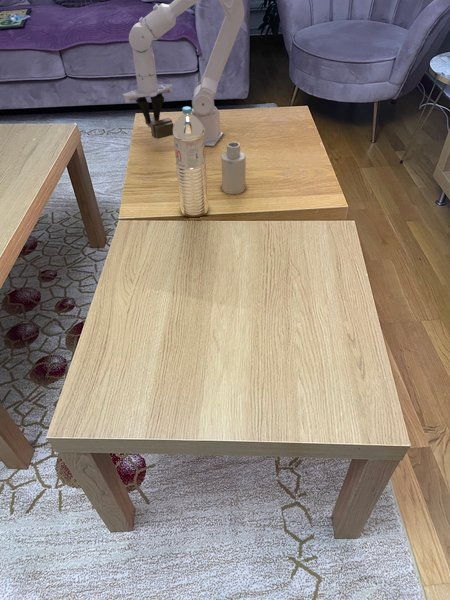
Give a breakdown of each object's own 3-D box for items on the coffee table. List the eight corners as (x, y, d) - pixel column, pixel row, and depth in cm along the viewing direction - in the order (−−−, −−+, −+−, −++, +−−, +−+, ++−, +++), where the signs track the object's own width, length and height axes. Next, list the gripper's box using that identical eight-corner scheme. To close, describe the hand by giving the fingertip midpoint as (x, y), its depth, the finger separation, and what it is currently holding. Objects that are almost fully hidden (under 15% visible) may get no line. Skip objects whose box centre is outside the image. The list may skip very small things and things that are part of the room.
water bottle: (204, 220, 108) (198, 115, 90) (177, 217, 109) (166, 113, 91) (211, 204, 112) (206, 102, 95) (184, 202, 113) (175, 100, 96)
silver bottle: (226, 181, 121) (225, 137, 112) (247, 184, 119) (248, 140, 111) (219, 192, 117) (217, 148, 108) (241, 195, 115) (241, 151, 107)
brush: (157, 120, 139) (156, 107, 136) (175, 135, 131) (174, 121, 128) (139, 124, 137) (137, 111, 134) (156, 140, 129) (155, 126, 126)
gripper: (126, 82, 120) (135, 132, 130) (175, 72, 125) (180, 120, 135) (117, 75, 125) (126, 123, 134) (164, 65, 130) (170, 112, 139)
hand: (152, 121), depth 135 cm, fingers closed on brush, 2 cm apart
